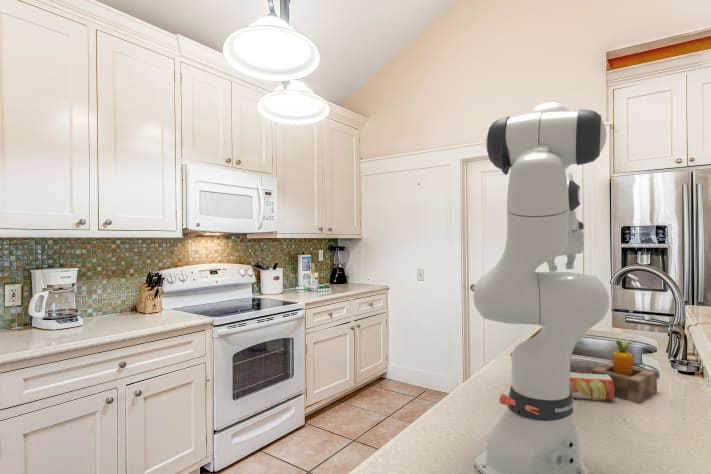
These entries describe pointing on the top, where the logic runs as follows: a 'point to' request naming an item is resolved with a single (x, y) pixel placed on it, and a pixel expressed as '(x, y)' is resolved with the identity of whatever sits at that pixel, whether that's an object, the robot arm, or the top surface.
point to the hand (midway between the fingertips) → (561, 270)
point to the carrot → (623, 360)
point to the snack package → (592, 386)
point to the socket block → (631, 382)
